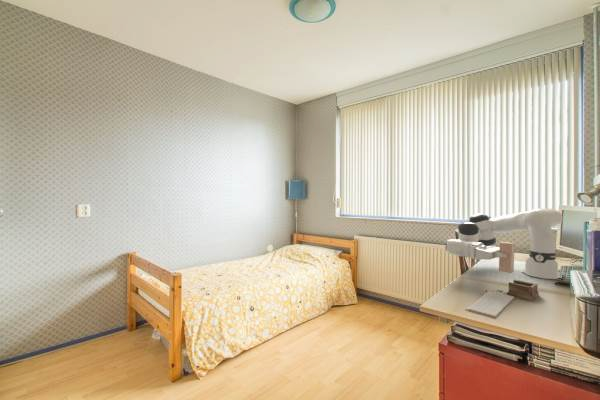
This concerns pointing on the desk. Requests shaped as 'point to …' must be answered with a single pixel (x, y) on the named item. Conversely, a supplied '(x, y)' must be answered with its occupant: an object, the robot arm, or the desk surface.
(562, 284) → the desk surface
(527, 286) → the slotted wooden stand
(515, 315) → the desk surface
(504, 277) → the desk surface
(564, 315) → the desk surface
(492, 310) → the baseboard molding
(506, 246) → the clay strip
